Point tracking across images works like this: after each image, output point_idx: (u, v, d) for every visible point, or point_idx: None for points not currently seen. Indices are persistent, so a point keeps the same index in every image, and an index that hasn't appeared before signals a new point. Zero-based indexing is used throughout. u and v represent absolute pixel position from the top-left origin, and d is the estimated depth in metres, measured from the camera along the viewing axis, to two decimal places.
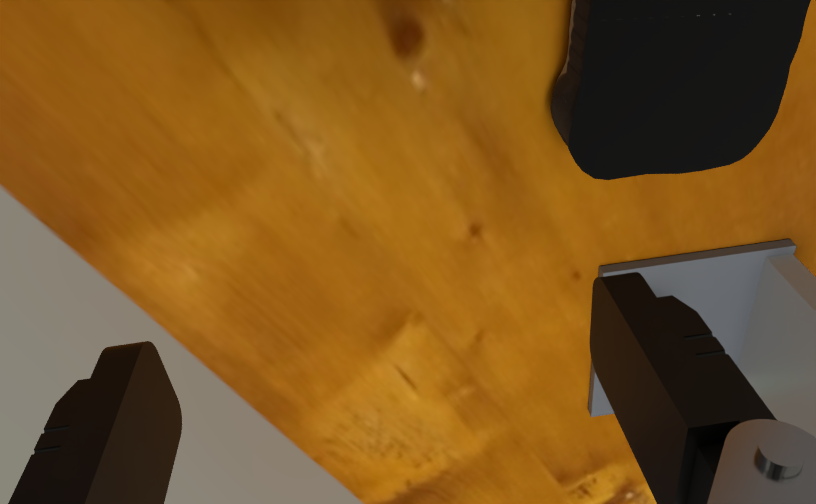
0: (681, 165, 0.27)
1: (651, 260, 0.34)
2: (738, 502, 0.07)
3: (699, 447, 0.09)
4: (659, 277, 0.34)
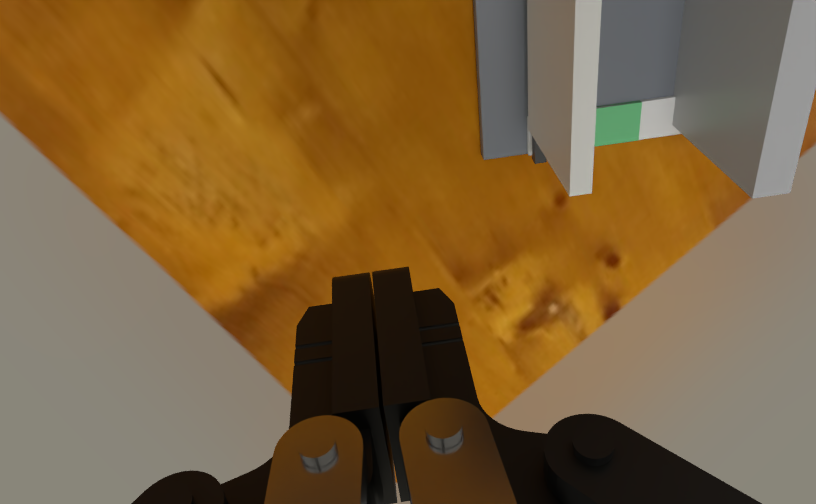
0: None
1: None
2: (434, 488, 0.08)
3: (399, 424, 0.10)
4: None
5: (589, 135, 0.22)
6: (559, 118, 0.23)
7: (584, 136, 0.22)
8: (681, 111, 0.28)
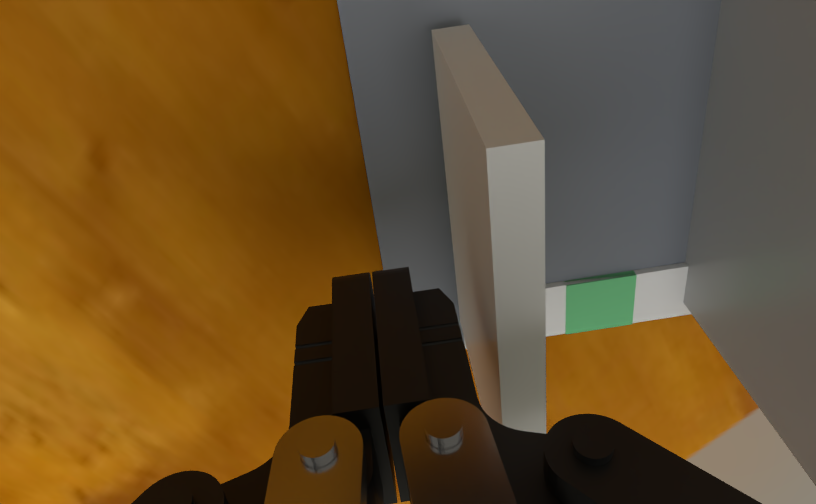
0: None
1: None
2: (434, 488, 0.08)
3: (399, 424, 0.10)
4: None
5: (536, 429, 0.12)
6: (487, 376, 0.13)
7: (527, 431, 0.12)
8: (698, 292, 0.18)
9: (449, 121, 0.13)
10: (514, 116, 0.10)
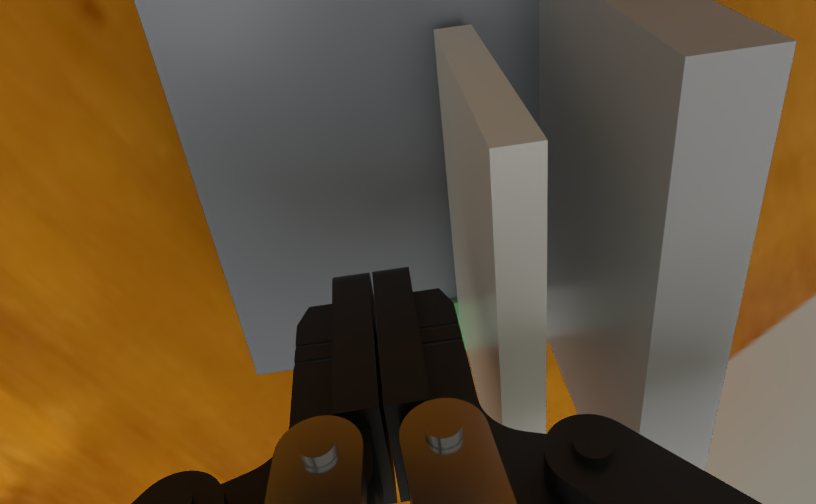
0: None
1: None
2: (433, 488, 0.08)
3: (399, 424, 0.10)
4: (283, 8, 0.14)
5: (536, 429, 0.12)
6: (487, 376, 0.13)
7: (527, 431, 0.12)
8: (548, 316, 0.18)
9: (451, 121, 0.13)
10: (517, 116, 0.10)
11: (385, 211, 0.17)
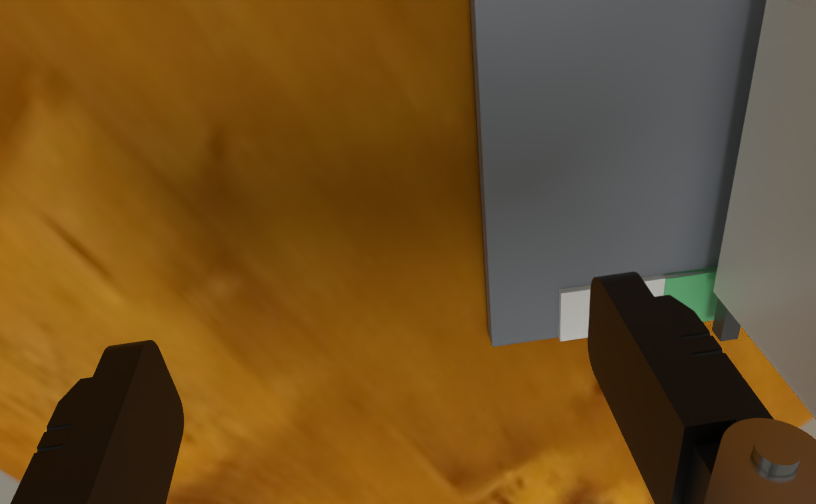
0: None
1: None
2: (734, 501, 0.08)
3: (696, 446, 0.09)
4: None
5: None
6: None
7: None
8: None
9: (805, 81, 0.13)
10: None
11: (655, 180, 0.17)
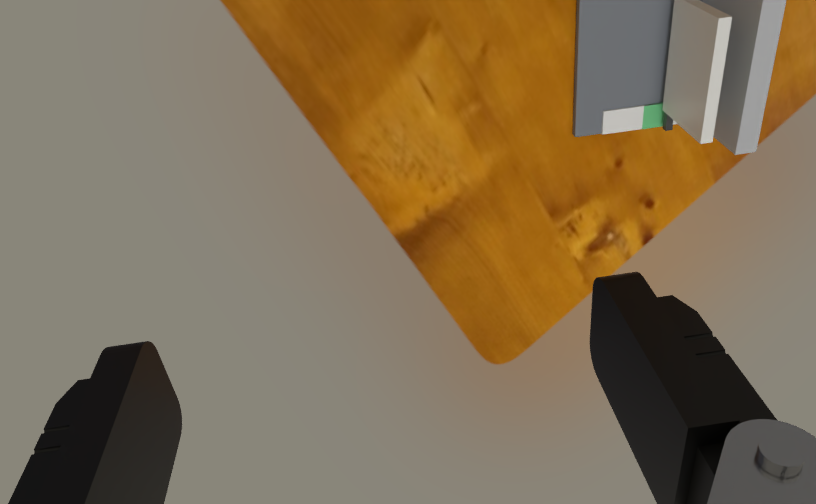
0: None
1: None
2: (738, 502, 0.07)
3: (699, 447, 0.09)
4: None
5: (714, 109, 0.42)
6: (695, 101, 0.43)
7: (712, 110, 0.42)
8: None
9: (684, 23, 0.43)
10: (721, 13, 0.40)
11: (639, 64, 0.47)
